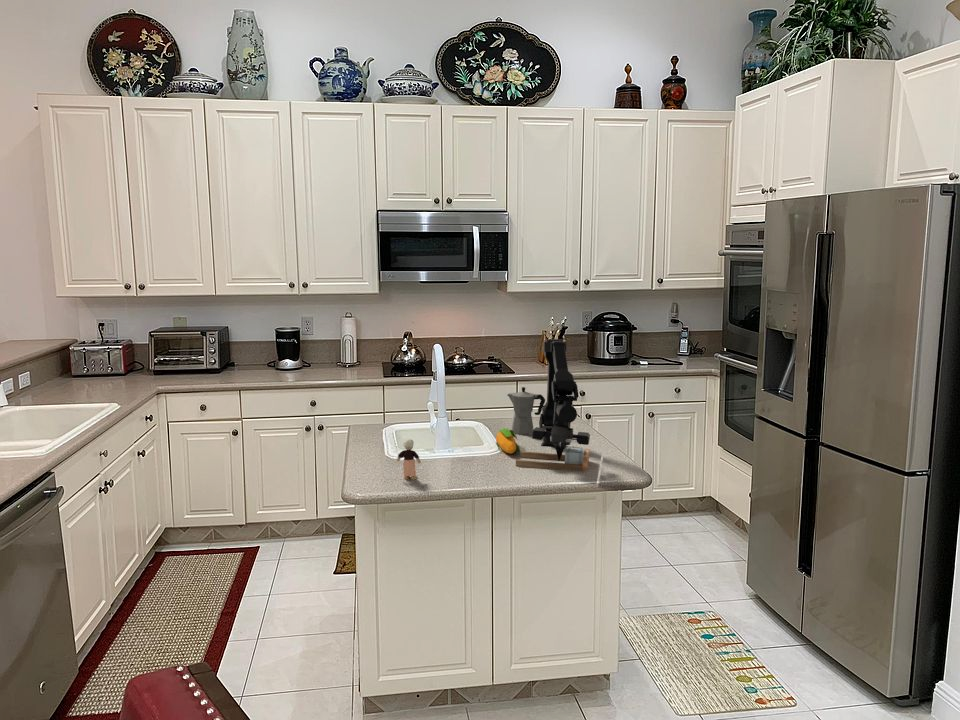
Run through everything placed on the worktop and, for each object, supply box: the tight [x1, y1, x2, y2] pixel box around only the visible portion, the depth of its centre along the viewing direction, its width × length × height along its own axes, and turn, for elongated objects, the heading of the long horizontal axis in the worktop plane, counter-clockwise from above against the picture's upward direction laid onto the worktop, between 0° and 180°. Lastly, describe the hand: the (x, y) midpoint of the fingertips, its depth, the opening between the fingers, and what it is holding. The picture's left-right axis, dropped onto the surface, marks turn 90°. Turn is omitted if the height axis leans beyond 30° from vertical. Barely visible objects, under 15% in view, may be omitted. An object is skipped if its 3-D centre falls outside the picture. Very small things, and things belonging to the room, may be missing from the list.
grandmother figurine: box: [396, 438, 421, 481], centre depth 224 cm, size 8×4×13 cm, turn 92°
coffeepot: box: [507, 386, 546, 436], centre depth 281 cm, size 15×9×18 cm, turn 70°
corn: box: [495, 428, 520, 455], centre depth 254 cm, size 7×8×20 cm
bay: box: [515, 448, 590, 472], centre depth 239 cm, size 11×23×5 cm, turn 78°
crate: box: [564, 446, 586, 465], centre depth 237 cm, size 6×6×5 cm
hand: (559, 460), depth 239 cm, fingers closed
